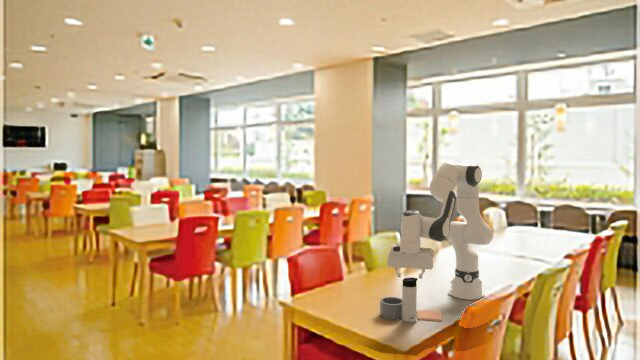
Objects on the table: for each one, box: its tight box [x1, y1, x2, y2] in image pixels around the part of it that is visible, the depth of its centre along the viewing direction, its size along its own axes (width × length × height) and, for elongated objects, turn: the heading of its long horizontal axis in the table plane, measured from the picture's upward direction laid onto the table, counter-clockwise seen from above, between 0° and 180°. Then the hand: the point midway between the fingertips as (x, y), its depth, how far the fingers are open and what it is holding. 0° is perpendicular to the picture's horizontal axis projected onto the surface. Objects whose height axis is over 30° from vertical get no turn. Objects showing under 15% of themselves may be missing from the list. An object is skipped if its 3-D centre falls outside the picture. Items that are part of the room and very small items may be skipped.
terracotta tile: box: [416, 309, 443, 322], centre depth 213 cm, size 11×11×1 cm
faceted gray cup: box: [379, 296, 402, 321], centre depth 214 cm, size 11×11×7 cm
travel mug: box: [401, 277, 418, 325], centre depth 206 cm, size 6×7×20 cm
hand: (409, 277), depth 205 cm, fingers open, 8 cm apart
